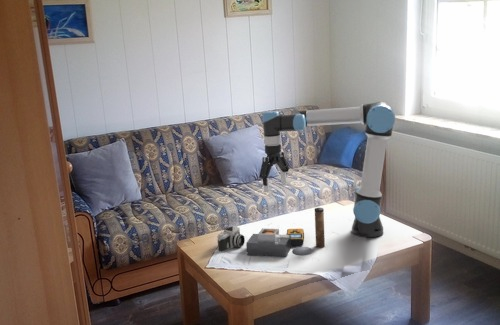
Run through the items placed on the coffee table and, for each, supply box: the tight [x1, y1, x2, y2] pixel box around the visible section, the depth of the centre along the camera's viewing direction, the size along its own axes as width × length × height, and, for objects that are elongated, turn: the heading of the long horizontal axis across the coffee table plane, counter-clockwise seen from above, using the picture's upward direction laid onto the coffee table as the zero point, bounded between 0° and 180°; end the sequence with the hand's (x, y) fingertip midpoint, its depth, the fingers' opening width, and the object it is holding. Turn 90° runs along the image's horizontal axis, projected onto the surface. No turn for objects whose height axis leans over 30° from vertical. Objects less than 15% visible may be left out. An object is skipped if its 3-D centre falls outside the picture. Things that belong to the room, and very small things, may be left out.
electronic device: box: [286, 228, 305, 247], centre depth 253 cm, size 8×16×3 cm, turn 175°
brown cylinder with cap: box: [314, 207, 326, 249], centre depth 242 cm, size 4×4×18 cm
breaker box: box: [245, 228, 292, 258], centre depth 241 cm, size 18×12×10 cm, turn 74°
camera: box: [217, 225, 246, 253], centre depth 249 cm, size 16×9×10 cm, turn 148°
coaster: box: [292, 246, 314, 256], centre depth 239 cm, size 9×9×1 cm
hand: (275, 188), depth 251 cm, fingers open, 13 cm apart
